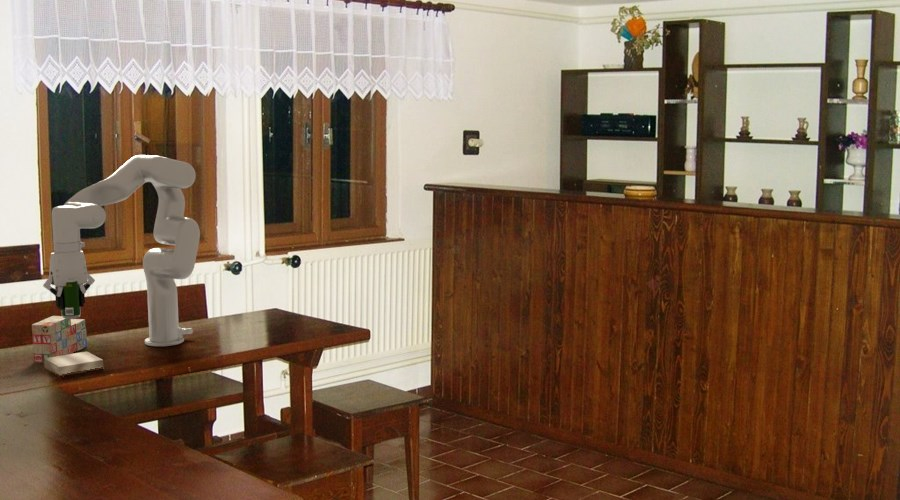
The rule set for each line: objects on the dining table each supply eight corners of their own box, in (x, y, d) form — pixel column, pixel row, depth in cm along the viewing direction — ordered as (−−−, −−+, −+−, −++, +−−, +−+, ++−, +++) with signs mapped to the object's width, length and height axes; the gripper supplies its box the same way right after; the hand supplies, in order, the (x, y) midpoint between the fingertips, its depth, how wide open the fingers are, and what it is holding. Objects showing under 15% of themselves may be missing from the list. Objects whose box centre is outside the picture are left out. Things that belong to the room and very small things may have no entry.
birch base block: (87, 360, 324) (86, 351, 323) (103, 369, 314) (102, 359, 313) (44, 367, 315) (44, 358, 315) (59, 377, 306) (59, 367, 305)
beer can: (81, 317, 311) (78, 278, 309) (61, 319, 309) (59, 279, 307) (80, 314, 316) (78, 275, 314) (61, 315, 314) (59, 276, 312)
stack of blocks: (69, 346, 343) (67, 309, 341) (87, 346, 342) (85, 310, 340) (33, 362, 322) (31, 323, 320) (52, 363, 321) (50, 324, 319)
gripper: (91, 243, 317) (94, 301, 320) (33, 249, 306) (37, 309, 309) (100, 246, 311) (103, 305, 314) (42, 252, 301) (45, 313, 303)
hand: (70, 307), depth 312 cm, fingers closed on beer can, 5 cm apart
